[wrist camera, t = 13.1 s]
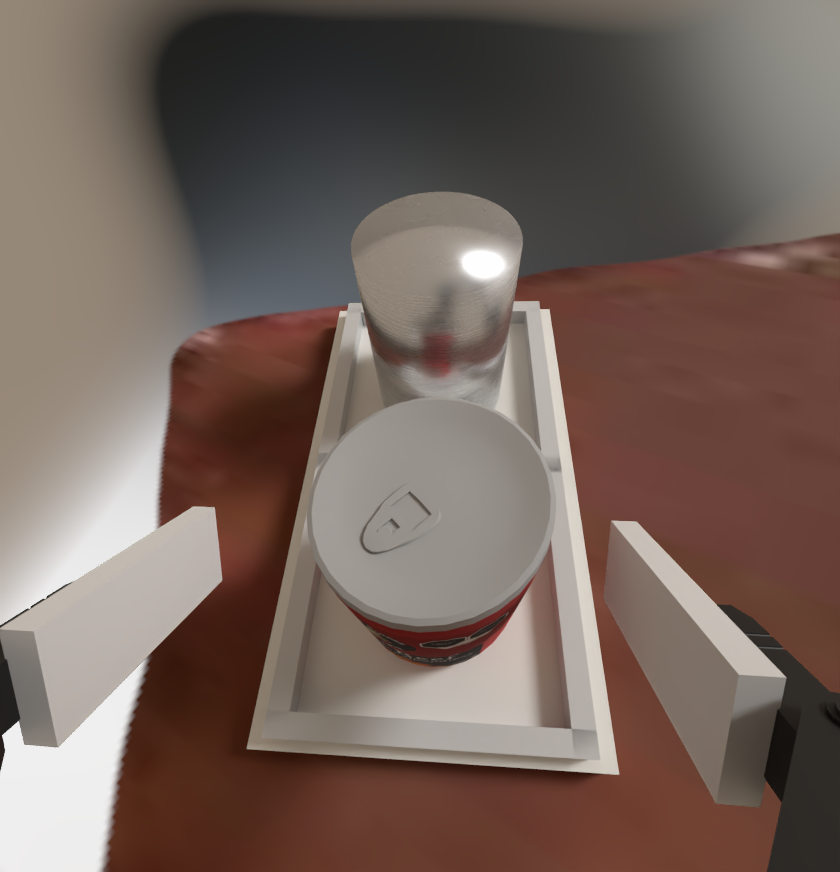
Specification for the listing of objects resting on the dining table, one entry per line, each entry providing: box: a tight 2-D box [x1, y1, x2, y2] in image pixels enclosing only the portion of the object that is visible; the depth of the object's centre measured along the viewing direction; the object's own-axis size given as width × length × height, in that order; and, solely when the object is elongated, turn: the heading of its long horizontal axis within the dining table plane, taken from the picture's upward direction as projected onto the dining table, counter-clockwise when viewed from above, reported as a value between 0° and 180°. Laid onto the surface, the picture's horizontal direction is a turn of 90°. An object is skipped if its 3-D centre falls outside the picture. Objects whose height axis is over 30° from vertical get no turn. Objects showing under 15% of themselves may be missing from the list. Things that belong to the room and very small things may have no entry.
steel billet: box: [351, 192, 523, 409], centre depth 25 cm, size 8×8×11 cm
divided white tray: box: [247, 301, 619, 775], centre depth 27 cm, size 16×28×3 cm, turn 177°
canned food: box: [307, 397, 556, 667], centre depth 18 cm, size 8×8×11 cm
